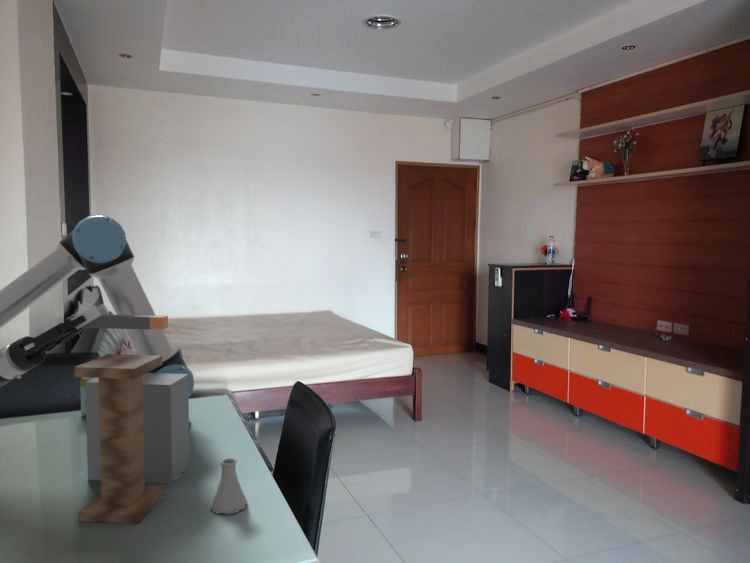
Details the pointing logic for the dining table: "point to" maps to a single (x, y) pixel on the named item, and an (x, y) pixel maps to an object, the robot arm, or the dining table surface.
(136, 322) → the grey long bar
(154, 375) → the block
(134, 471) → the stand
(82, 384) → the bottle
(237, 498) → the flask
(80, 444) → the dining table surface
